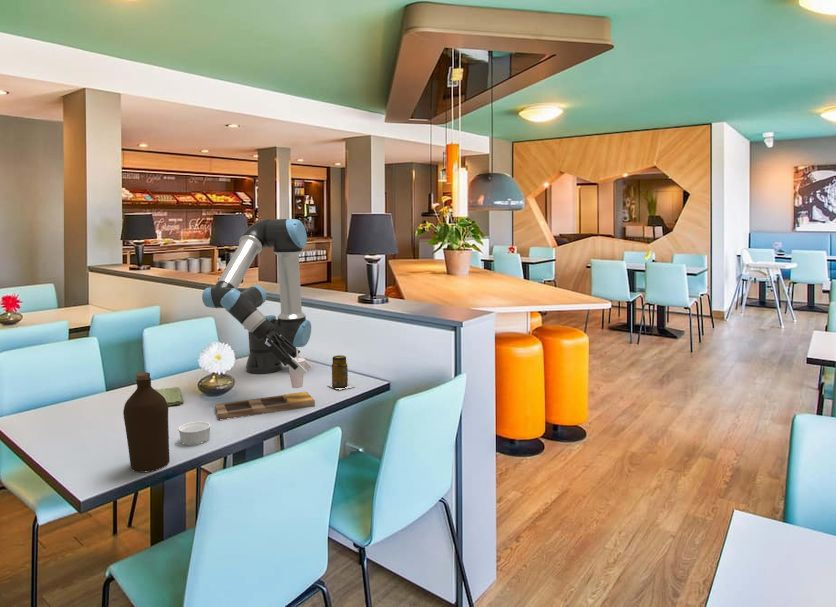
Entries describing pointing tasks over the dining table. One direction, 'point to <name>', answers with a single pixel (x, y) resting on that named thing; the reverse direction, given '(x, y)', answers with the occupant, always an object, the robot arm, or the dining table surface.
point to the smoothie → (295, 378)
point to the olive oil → (147, 427)
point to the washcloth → (172, 395)
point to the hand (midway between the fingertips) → (306, 371)
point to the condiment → (339, 372)
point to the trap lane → (264, 405)
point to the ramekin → (194, 432)
